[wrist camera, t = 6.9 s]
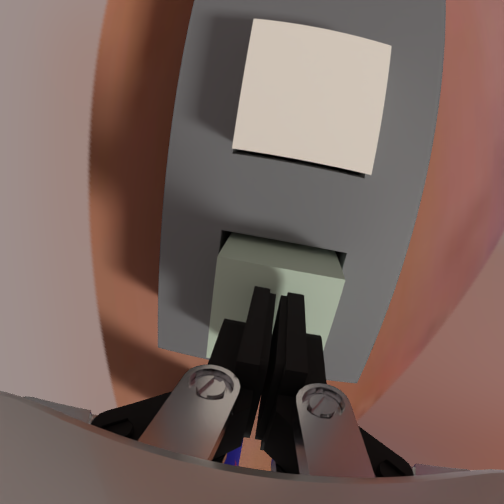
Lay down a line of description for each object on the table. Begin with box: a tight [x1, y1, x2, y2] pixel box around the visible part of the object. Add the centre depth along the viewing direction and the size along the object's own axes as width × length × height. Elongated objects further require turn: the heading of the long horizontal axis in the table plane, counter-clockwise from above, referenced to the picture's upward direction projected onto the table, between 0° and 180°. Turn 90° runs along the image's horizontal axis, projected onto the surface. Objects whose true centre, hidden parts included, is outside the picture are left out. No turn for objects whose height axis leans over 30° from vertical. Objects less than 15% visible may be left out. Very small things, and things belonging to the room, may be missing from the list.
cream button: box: [232, 19, 392, 175], centre depth 10 cm, size 4×4×3 cm
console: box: [158, 0, 446, 383], centre depth 13 cm, size 24×10×4 cm, turn 171°
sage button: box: [206, 232, 345, 358], centre depth 13 cm, size 4×4×3 cm
